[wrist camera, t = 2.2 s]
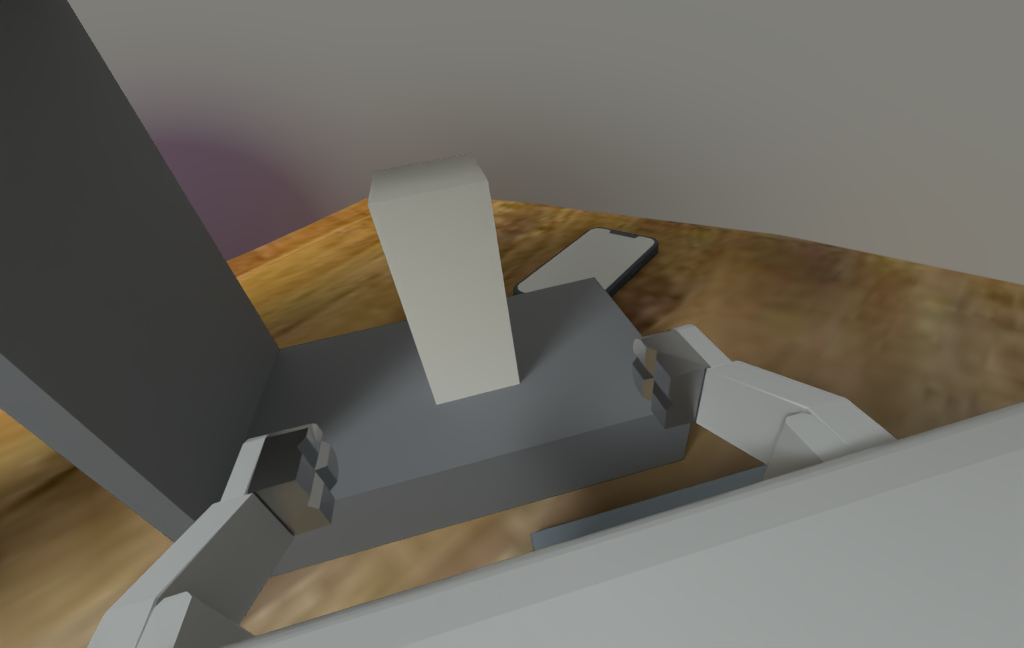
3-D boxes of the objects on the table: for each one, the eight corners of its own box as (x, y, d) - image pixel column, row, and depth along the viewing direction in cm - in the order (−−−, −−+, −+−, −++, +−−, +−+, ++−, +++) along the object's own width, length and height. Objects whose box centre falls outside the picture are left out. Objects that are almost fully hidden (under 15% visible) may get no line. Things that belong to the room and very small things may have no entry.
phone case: (583, 331, 36) (662, 252, 45) (582, 316, 36) (663, 239, 44) (509, 302, 42) (593, 236, 50) (506, 289, 41) (592, 224, 49)
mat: (634, 930, 12) (635, 931, 12) (531, 539, 22) (530, 533, 22) (1071, 750, 14) (1083, 747, 14) (798, 460, 24) (802, 454, 23)
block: (436, 404, 24) (367, 204, 17) (431, 351, 28) (373, 171, 21) (519, 383, 24) (488, 180, 17) (502, 334, 28) (471, 153, 21)
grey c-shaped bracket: (232, 587, 22) (-961, -334, 5) (288, 400, 33) (-27, -82, 16) (683, 459, 25) (870, -413, 8) (594, 326, 36) (593, -151, 19)
